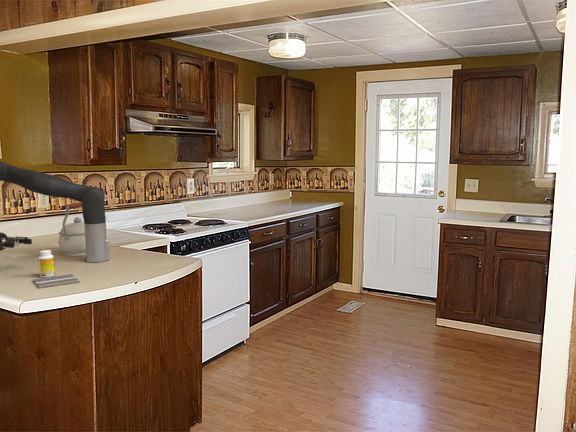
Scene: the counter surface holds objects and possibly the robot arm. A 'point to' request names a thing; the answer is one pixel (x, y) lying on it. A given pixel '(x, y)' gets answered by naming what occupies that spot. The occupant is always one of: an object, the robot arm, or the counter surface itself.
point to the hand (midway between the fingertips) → (22, 243)
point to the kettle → (73, 234)
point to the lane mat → (55, 281)
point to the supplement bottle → (46, 264)
